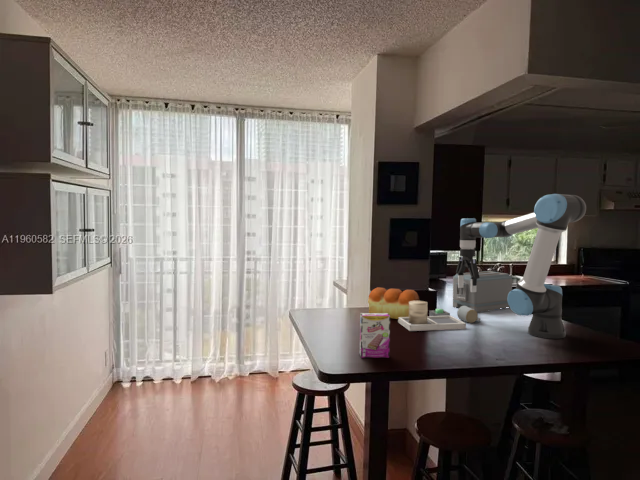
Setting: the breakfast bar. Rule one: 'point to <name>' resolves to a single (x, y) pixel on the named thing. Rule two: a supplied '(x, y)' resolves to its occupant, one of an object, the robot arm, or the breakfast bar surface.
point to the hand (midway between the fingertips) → (466, 289)
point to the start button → (439, 310)
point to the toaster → (483, 291)
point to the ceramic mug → (467, 314)
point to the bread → (391, 301)
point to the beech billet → (418, 312)
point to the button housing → (433, 313)
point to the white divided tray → (433, 323)
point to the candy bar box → (374, 335)
